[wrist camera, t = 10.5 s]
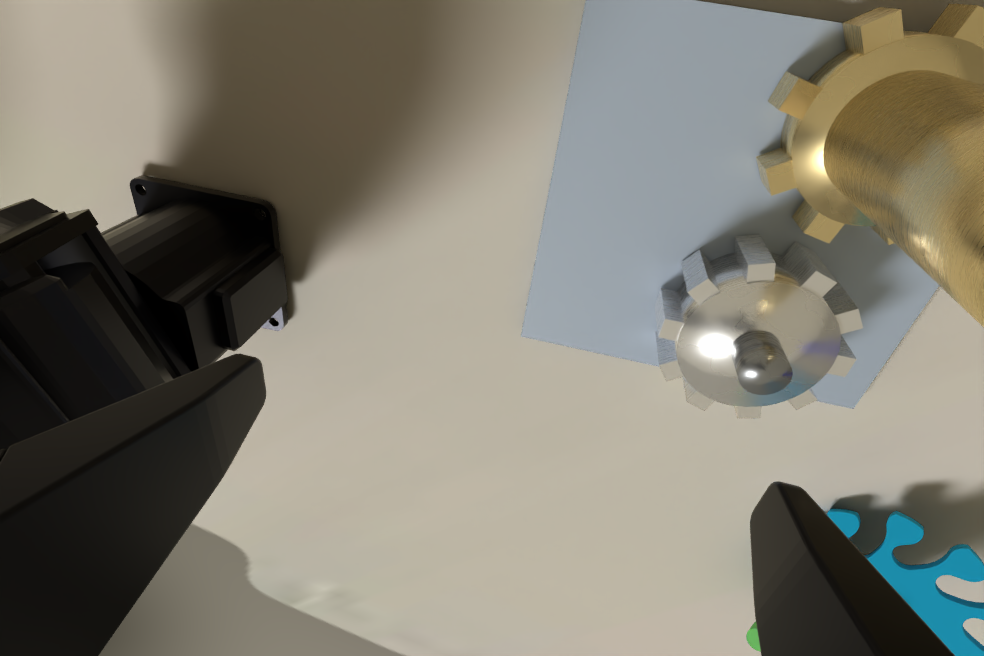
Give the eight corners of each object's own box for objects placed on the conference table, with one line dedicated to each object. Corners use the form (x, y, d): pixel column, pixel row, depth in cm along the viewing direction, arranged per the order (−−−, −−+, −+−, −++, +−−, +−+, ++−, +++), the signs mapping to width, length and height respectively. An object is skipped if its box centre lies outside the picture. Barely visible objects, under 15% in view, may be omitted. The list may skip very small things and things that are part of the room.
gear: (973, 495, 22) (1103, 783, 19) (964, 477, 26) (1068, 707, 23) (708, 528, 28) (775, 748, 25) (738, 509, 33) (798, 694, 30)
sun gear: (634, 359, 23) (637, 424, 19) (684, 219, 19) (698, 268, 16) (790, 393, 22) (821, 465, 19) (872, 255, 18) (927, 314, 15)
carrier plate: (522, 328, 24) (520, 337, 23) (589, -17, 16) (588, -17, 16) (847, 399, 22) (854, 410, 22) (1078, 59, 15) (1098, 62, 14)
